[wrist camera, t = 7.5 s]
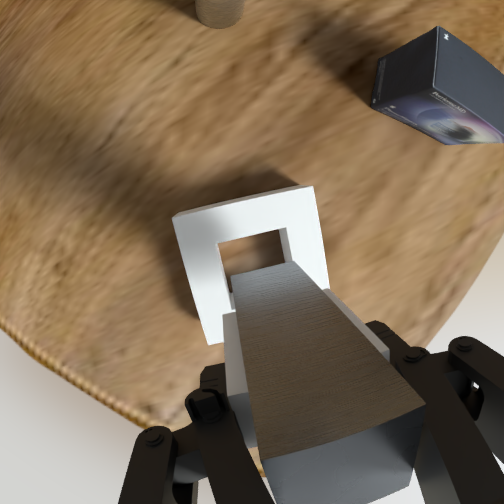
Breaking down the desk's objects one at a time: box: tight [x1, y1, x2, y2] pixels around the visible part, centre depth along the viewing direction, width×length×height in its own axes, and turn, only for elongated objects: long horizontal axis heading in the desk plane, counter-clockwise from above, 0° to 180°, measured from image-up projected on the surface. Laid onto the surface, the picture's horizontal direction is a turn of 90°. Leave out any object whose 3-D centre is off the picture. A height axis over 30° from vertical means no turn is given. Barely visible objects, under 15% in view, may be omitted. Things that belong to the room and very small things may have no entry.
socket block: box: [172, 185, 330, 345], centre depth 27 cm, size 11×11×4 cm
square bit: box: [230, 261, 426, 504], centre depth 13 cm, size 4×4×14 cm
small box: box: [371, 26, 504, 145], centre depth 22 cm, size 11×6×10 cm, turn 76°
